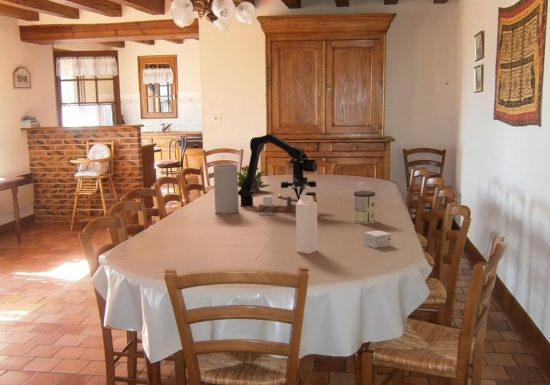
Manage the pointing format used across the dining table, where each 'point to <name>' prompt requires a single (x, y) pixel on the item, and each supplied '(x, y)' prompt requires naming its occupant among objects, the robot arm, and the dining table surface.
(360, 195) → the coffee can
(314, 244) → the milk
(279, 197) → the lever
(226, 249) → the dining table surface
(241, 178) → the potted flower
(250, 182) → the robot arm
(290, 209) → the plane body
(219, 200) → the cylinder vase
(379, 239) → the small box
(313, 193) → the condiment
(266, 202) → the cap block
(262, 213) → the rubber mat
